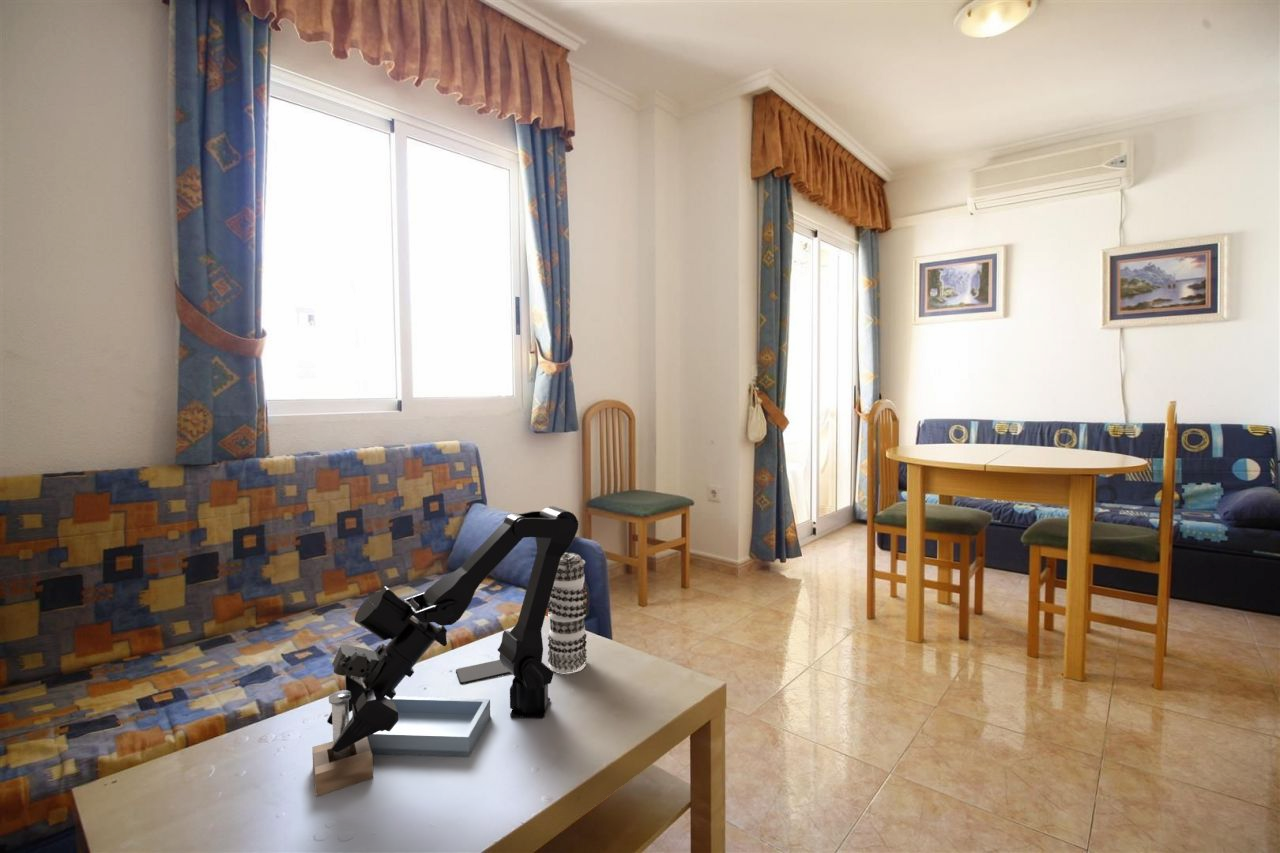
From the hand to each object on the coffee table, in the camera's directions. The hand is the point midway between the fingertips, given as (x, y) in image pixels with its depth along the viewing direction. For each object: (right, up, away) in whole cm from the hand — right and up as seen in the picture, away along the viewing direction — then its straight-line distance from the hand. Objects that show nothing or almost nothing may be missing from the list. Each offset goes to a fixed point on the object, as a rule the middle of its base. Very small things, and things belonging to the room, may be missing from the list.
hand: (331, 736), depth 94 cm
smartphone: (+17, -5, +35) cm, 40 cm away
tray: (+11, -6, +12) cm, 17 cm away
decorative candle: (+33, -4, +38) cm, 50 cm away
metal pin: (+1, -7, +1) cm, 7 cm away
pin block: (+1, -7, +1) cm, 7 cm away
